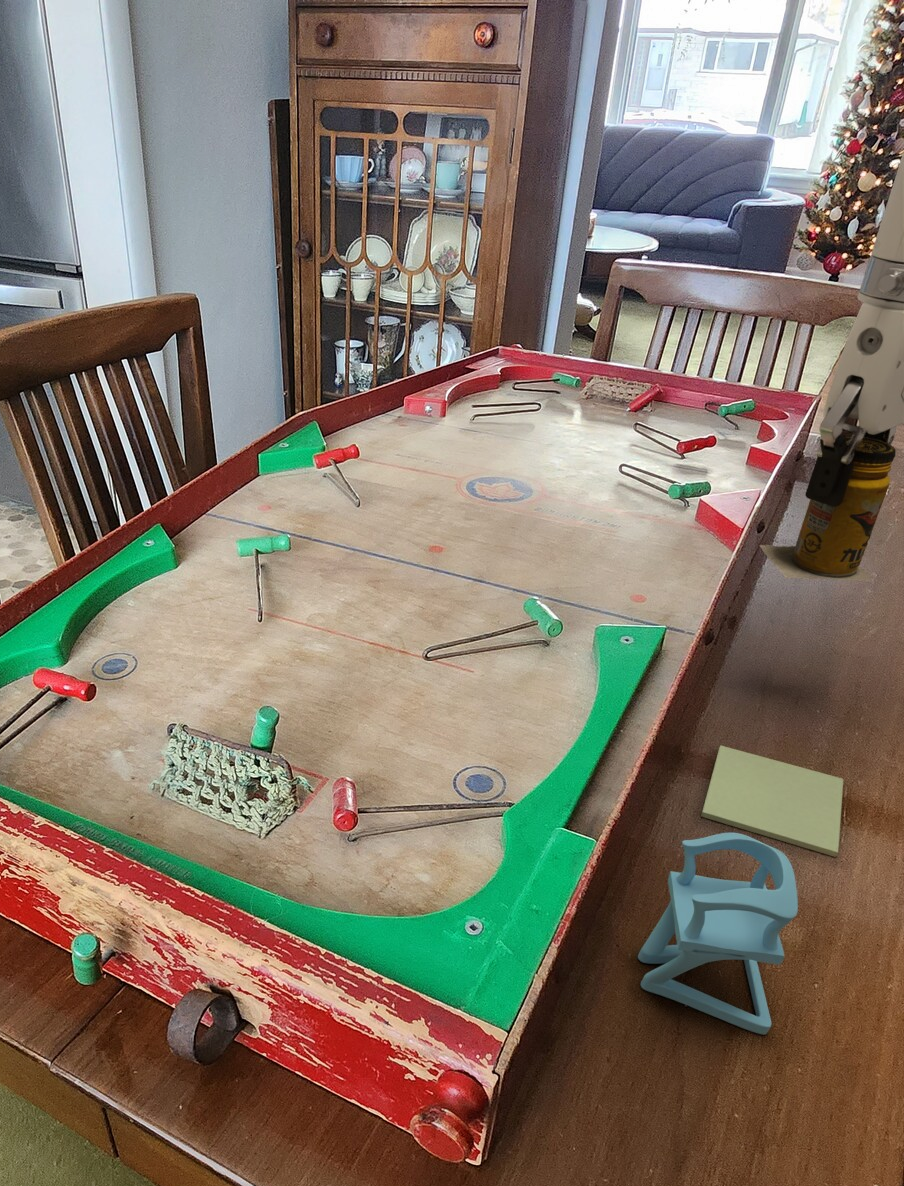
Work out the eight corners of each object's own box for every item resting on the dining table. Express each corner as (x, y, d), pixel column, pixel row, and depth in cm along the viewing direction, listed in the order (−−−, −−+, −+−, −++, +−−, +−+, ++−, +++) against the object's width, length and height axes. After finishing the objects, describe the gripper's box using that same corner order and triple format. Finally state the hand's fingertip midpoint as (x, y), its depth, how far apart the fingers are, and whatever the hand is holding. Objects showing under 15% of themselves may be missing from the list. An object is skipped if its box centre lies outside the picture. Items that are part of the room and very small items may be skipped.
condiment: (874, 581, 86) (921, 457, 79) (785, 579, 86) (825, 454, 79) (840, 550, 92) (882, 431, 85) (758, 548, 92) (793, 429, 85)
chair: (634, 931, 68) (670, 810, 61) (749, 948, 67) (798, 827, 60) (643, 1016, 62) (683, 892, 55) (769, 1036, 61) (827, 912, 54)
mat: (718, 749, 87) (720, 744, 87) (841, 783, 84) (843, 778, 83) (700, 816, 79) (702, 811, 79) (836, 857, 75) (838, 852, 75)
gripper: (914, 303, 68) (834, 528, 78) (1000, 282, 77) (919, 485, 88) (818, 287, 72) (755, 502, 83) (910, 268, 82) (843, 464, 92)
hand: (840, 491), depth 85 cm, fingers closed on condiment, 6 cm apart
